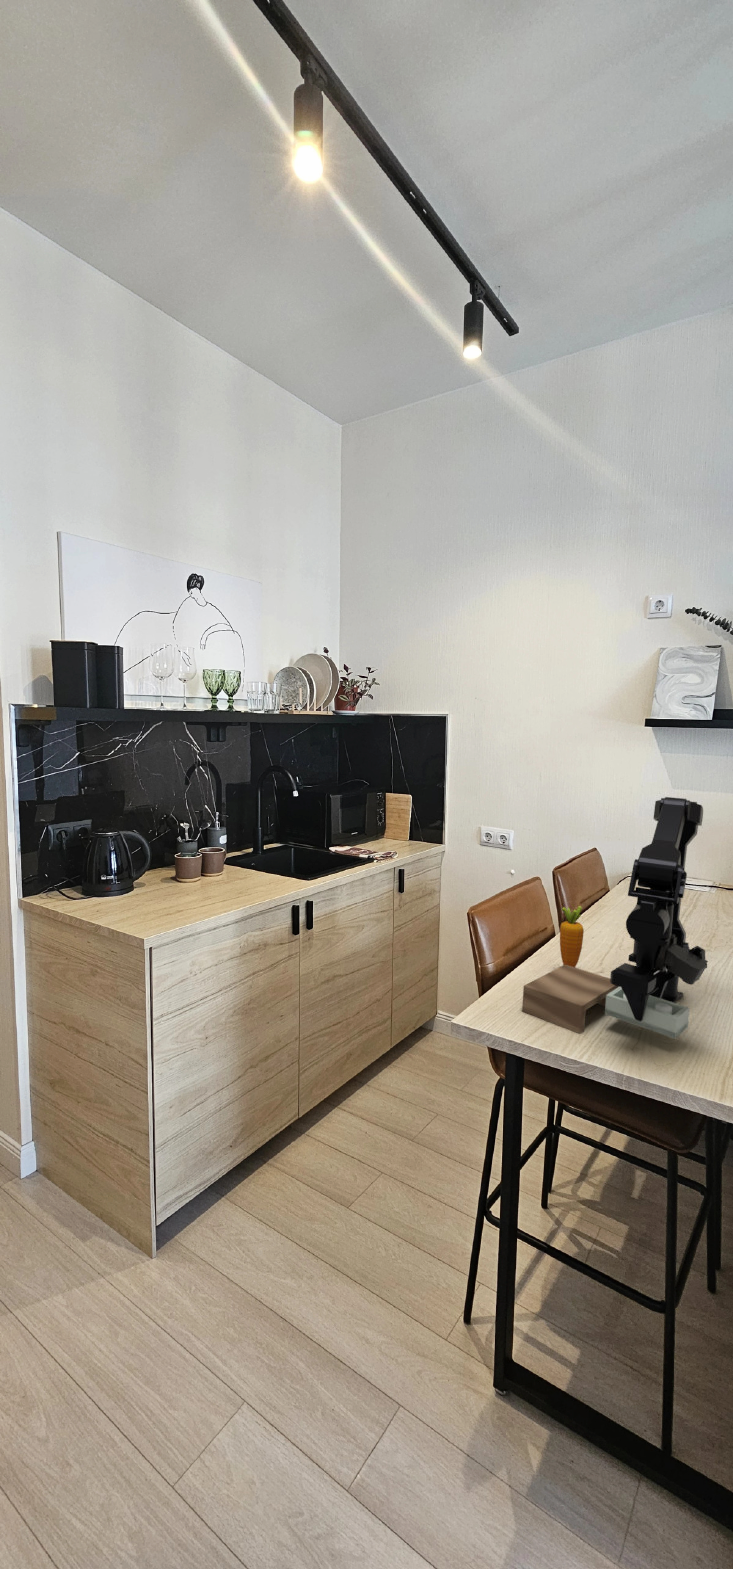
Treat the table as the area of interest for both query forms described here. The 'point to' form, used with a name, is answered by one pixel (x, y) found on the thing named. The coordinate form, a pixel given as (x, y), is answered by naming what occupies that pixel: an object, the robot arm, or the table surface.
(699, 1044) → the table surface
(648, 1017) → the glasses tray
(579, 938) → the carrot
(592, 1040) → the table surface
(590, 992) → the walnut shelf
